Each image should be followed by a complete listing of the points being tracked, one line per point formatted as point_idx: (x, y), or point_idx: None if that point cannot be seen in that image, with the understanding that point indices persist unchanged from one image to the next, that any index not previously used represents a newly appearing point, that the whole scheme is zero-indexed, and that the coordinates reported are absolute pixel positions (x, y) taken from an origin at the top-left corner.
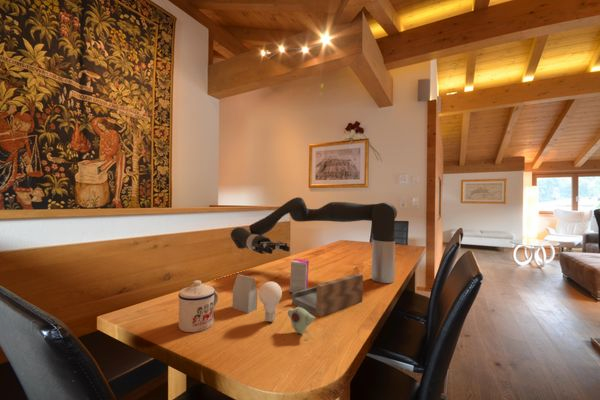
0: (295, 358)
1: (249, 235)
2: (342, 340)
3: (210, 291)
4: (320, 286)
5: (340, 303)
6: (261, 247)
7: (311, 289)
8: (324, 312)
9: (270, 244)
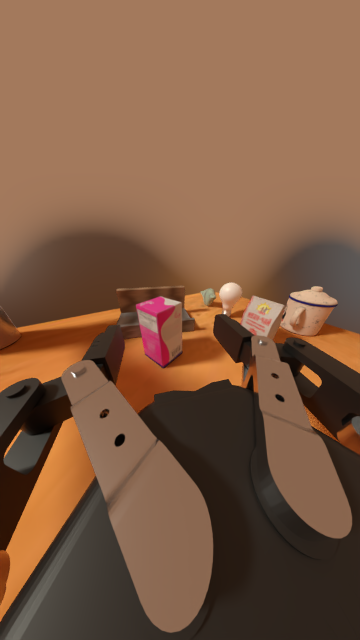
0: (216, 298)
1: None
2: (186, 299)
3: (293, 293)
4: (183, 286)
5: None
6: (283, 352)
7: None
8: None
9: (203, 404)
